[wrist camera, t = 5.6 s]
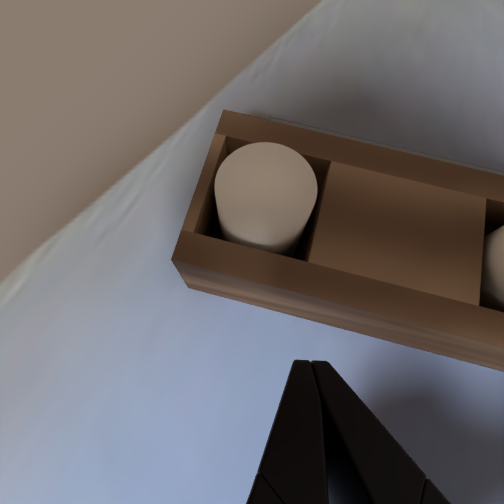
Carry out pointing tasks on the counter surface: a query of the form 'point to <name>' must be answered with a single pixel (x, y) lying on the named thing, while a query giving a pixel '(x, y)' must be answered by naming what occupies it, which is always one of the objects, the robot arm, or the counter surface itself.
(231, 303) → the counter surface
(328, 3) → the counter surface
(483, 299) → the unmarked button
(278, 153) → the beige cylinder
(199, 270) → the button console
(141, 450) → the counter surface
